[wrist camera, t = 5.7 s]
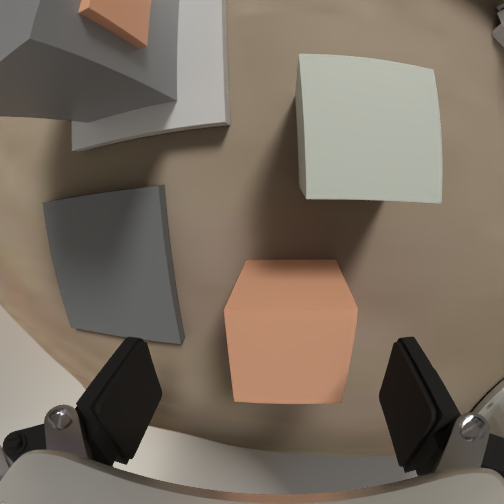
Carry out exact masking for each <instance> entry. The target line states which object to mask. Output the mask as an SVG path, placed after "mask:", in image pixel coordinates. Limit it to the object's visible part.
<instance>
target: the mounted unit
mask: <svg viewBox="0 0 504 504" xmlns="http://www.w3.org/2000/svg"><path fill="white" fill-rule="evenodd" d="M0 116H10V117H32V118H46V119H58V120H68V121H72V151H85V150H89V149H93V148H97V147H101V146H105V145H109V144H113V143H117V142H122V141H127V140H131V139H136V138H141V137H147V136H152V135H158V134H164V133H170V132H177V131H183V130H191V129H199V128H207V127H216V126H227V125H230V108H229V84H228V56H227V23H226V0H0Z"/></svg>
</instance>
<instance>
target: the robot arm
mask: <svg viewBox="0 0 504 504" xmlns="http://www.w3.org/2000/svg"><path fill="white" fill-rule="evenodd" d="M161 397H162V390H161V387H160V384H159V381H158V378H157V375H156V372H155V368H154V365H153V362H152V359H151V355H150V352H149V349H148V345H147V343H146V342H144V341H143V339H142V338H137V337H127V338H126V339H125V340H124V341H123V343H122V344H121V345H120V346H119V348H118V349H117V350H116V351H115V353H114V354H113V355H112V357H111V358H110V359H109V360H108V362H107V363H106V364H105V366H104V367H103V368H102V370H101V371H100V372H99V373H98V375H97V376H96V377H95V379H94V380H93V381H92V383H91V384H90V385H89V387H88V388H87V389H86V391H85V392H84V393H83V395H82V396H81V398H80V399H79V400H78V402H77V403H76V404H77V407H76V408H75V409H74V408H73V407H71V406H69V405H59V406H56V407H54V408H52V409H51V410H50V411H49V412H48V413H47V414H46V416H45V420H44V424H41V425H37V426H34V427H30V428H26V429H23V430H18V431H14V432H12V433H10V434H9V435H7V437H6V438H5V440H4V442H3V447H1V446H0V504H504V379H503V380H502V381H501V382H500V383H499V384H498V385H497V386H496V387H495V388H493V389H492V390H491V391H490V392H489V393H488V394H487V395H486V396H485V398H484V399H483V400H482V401H481V402H480V403H479V404H478V405H477V406H476V408H475V409H474V410H473V411H472V412H470V413H465V414H463V415H461V414H460V413H459V411H458V409H457V407H456V405H455V403H454V401H453V400H452V398H451V396H450V394H449V392H448V391H447V389H446V387H445V385H444V384H443V382H442V380H441V378H440V377H439V375H438V373H437V372H436V370H435V369H434V368H433V366H432V365H431V363H430V361H429V360H428V358H427V357H426V355H425V353H424V352H423V350H422V349H421V347H420V345H419V344H418V342H417V341H416V339H415V338H414V337H404V338H399V339H398V341H397V342H395V343H394V344H393V348H392V351H391V355H390V359H389V363H388V366H387V370H386V373H385V376H384V380H383V383H382V386H381V389H380V393H379V400H380V403H381V407H382V410H383V413H384V416H385V419H386V422H387V426H388V429H389V432H390V436H391V439H392V442H393V446H394V449H395V453H396V457H397V460H398V463H399V465H400V466H401V467H402V466H403V468H404V471H405V473H406V472H410V471H413V470H416V472H417V475H418V476H417V477H415V478H411V479H407V480H403V481H398V482H394V483H389V484H384V485H379V486H373V487H367V488H361V489H355V490H347V491H339V492H330V493H317V494H299V495H298V494H296V495H265V494H245V493H232V492H223V491H215V490H207V489H201V488H195V487H189V486H183V485H178V484H173V483H168V482H164V481H160V480H155V479H151V478H148V477H144V476H140V475H137V474H134V473H130V472H127V471H123V470H120V469H117V468H114V467H113V463H114V461H116V462H119V463H122V464H127V463H128V461H129V459H132V458H133V457H134V455H135V453H136V451H137V449H138V447H139V444H140V442H141V440H142V438H143V436H144V434H145V431H146V429H147V427H148V425H149V423H150V421H151V419H152V417H153V414H154V412H155V410H156V408H157V406H158V404H159V402H160V400H161Z"/></svg>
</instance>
